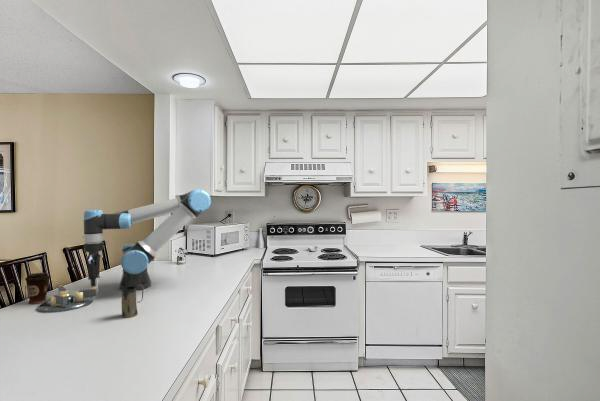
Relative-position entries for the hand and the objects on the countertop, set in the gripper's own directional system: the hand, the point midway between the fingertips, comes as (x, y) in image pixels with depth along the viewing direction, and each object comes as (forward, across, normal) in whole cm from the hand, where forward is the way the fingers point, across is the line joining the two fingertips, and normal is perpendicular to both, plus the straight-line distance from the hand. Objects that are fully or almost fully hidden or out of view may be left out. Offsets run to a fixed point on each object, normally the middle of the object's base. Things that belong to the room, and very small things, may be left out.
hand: (94, 292), depth 154 cm
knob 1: (+2, 0, -13) cm, 13 cm away
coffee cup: (+3, -3, -24) cm, 24 cm away
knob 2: (+2, +12, -10) cm, 16 cm away
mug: (+3, +30, +22) cm, 37 cm away
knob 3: (+2, +6, -2) cm, 6 cm away
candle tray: (+3, +6, -9) cm, 11 cm away
